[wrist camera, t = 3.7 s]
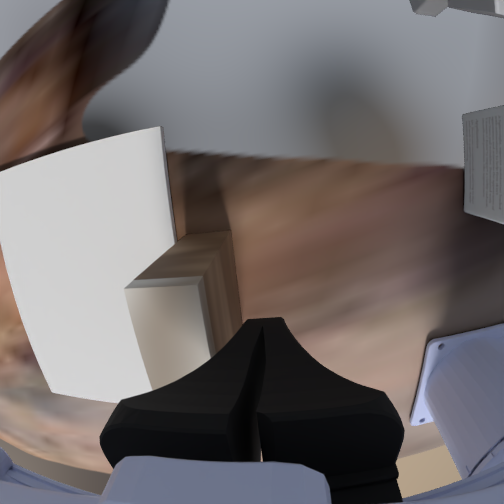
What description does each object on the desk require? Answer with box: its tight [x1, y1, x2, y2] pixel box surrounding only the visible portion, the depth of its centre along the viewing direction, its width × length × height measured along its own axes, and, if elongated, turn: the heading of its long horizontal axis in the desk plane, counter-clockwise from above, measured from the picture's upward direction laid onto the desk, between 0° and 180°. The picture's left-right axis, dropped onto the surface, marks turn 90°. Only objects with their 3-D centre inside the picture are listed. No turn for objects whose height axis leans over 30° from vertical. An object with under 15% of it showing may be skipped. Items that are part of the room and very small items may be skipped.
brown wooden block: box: [124, 230, 243, 390], centre depth 14 cm, size 2×6×8 cm, turn 5°
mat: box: [0, 126, 177, 403], centre depth 19 cm, size 14×18×1 cm
